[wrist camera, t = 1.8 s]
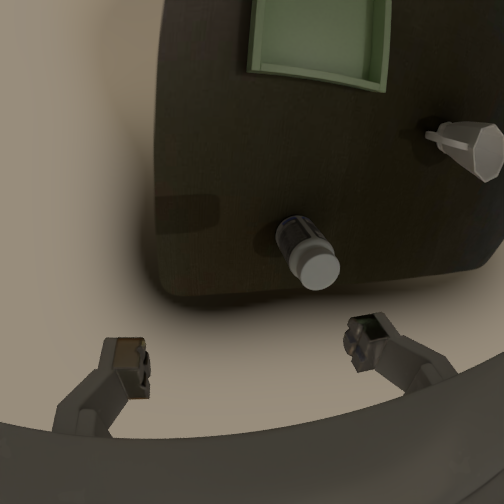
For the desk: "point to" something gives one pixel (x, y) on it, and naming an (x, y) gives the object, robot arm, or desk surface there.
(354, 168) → the desk surface
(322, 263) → the pill bottle
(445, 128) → the cup
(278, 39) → the sage tray
